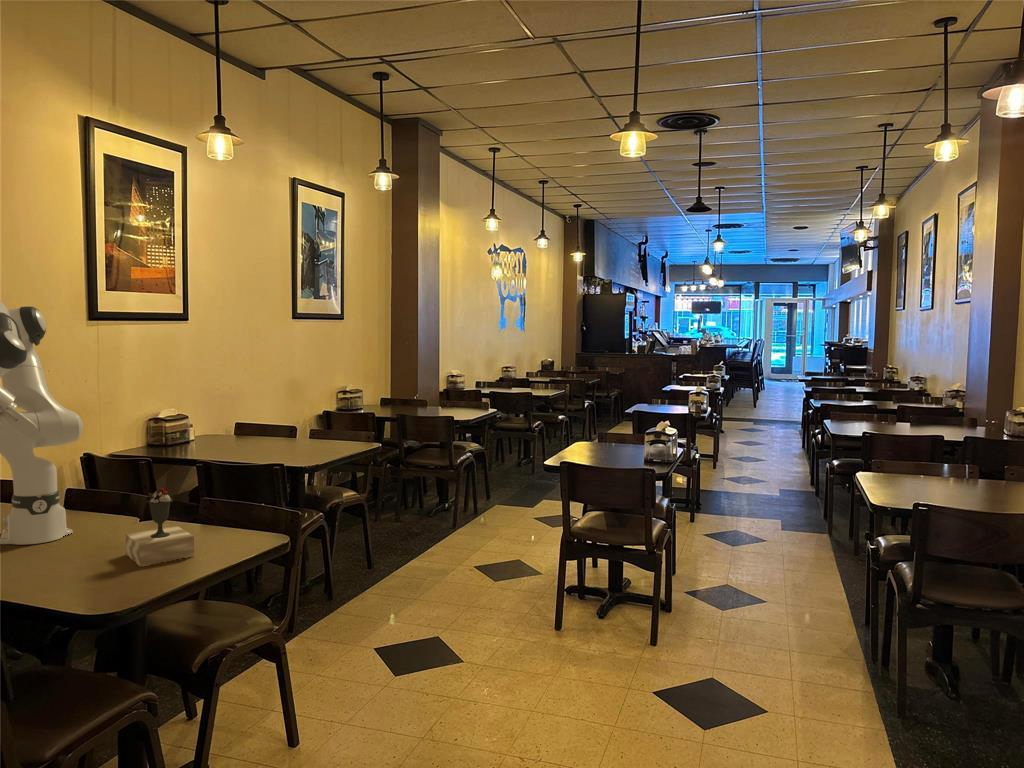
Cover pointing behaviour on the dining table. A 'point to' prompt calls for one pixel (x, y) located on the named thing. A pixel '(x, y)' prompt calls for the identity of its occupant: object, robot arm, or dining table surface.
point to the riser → (159, 546)
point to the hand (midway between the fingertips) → (41, 440)
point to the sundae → (159, 510)
